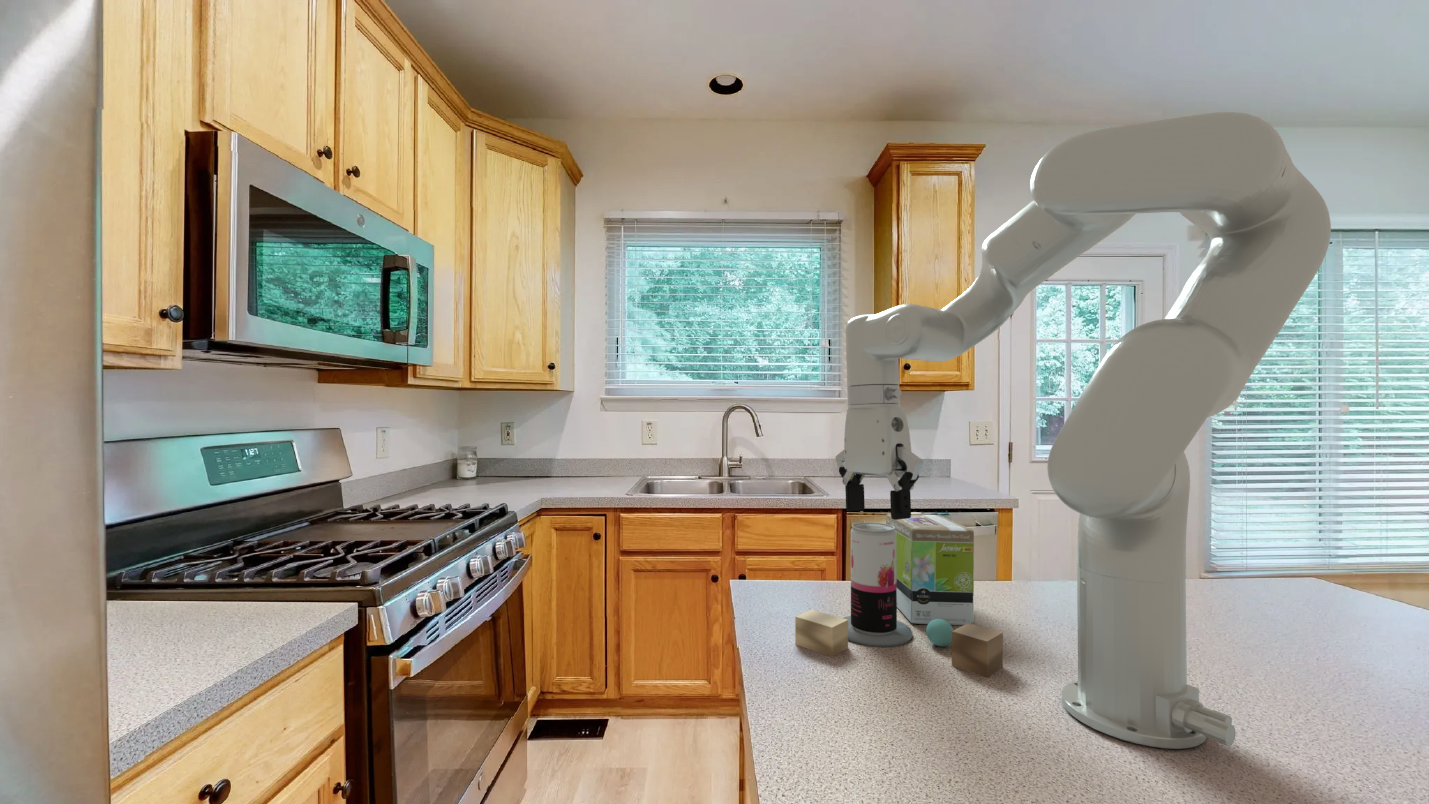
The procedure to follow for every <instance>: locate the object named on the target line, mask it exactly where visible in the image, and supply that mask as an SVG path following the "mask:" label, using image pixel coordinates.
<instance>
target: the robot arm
mask: <svg viewBox="0 0 1429 804" xmlns="http://www.w3.org/2000/svg"><path fill="white" fill-rule="evenodd" d="M1029 184H1030V185H1029V187H1030V195H1031V197H1032V200H1031V201H1030V202H1029V203H1027V205H1025V206H1024V207H1023V208H1022V209H1020V210H1019V211H1018V212H1016V213H1015V214H1014V215H1013V216H1012V217H1010V219H1008V220H1007V221H1006V222H1004V223H1003V224H1001V226H1000V227H998V228H997V229H995V231H993V232H992V233H991V234H990V235H988V236H986V239H984V241H983V242H982V245H981V256H982V257H981V262H982V264H981V268H980V272H979V274H978V276H977V277H976V279H974V282H973V283H972V284H971V285H970V286H969V288H967V289H966V290H965V291H964V292H963V293H962V294H961V295H959V296H958V297H957V298H955V299H954V300H952V301H951V302H950V303H948V304H947V305H946V306H944V307H943V308H942V309H938V308H935V307H934V308H933V307H930V306H929V307H928V306H923V305H919V304H916V303H915V304H913V303H906V304H904V303H903V304H900V305H896V306H894V307H891V308H888V309H886V310H883V311H881V312H879V313H875V314H861V315H858V316H855V317H852V318H850V320H848V321H847V323H846V326H845V356H846V358H845V360H846V361H845V362H846V384H847V385H846V386H847V388H846V389H847V394H846V395H847V410H846V413H845V414H846V415H845V421H844V422H845V425H844V439H843V440H844V441H843V442H844V443H843V450H842V451H840V452H839V453H837V455H836V456H835V461H836V464H837V467H838V472H839V475H840V476H841V477H842V484H843V485H844V486H845V488H844V489H845V510H846V511H847V512H859V511H864V509H865V508H866V507H865V506H866V505H865V504H866V503H865V484H864V483H862V481H863V479H864V477H865V476H874V477H886V479H887V481H888V482H889V483H890V485H891V487H892V489H893V490H890V492H889V493H890V494H889V495H890V500H889V501H890V514H891V518H892V519H895V520H898V519H907V518H910V517H911V515H912V504H911V503H912V501H911V500H912V499H911V491H912V490H914V487H915V484H916V482H917V481H918V480H919V478H920V472H921V469H922V466H923V465H924V463H923V459H922V458H921V457H919V456H918V455H916V454H915V453H913V452H912V443H911V442H912V441H911V434H910V427H909V422H908V419H907V418H908V417H907V413H906V411H905V408H904V406H901V401H900V400H901V397H902V395H903V392H902V390H901V389H900V368H899V366H900V365H899V359H900V360H901V359H902V360H910V361H911V360H912V361H924V362H925V361H926V362H932V363H942V362H948V361H951V360H953V359H955V358H957V357H959V356H961V355H963V354H964V353H966V352H967V351H969V350H970V349H972V348H973V347H975V346H976V345H978V344H979V343H981V342H983V340H986V338H988V337H989V336H990V335H992V334H994V333H995V332H996V331H998V330H999V329H1000V327H1002V326H1003V325H1004V324H1005V323H1006V322H1007V321H1008V320H1009V318H1011V316H1012V315H1013V314H1014V313H1015V311H1016V310H1018V308H1019V307H1020V306H1021V305H1022V303H1023V301H1024V300H1025V298H1026V297H1027V295H1028V294H1030V293H1031V292H1032V291H1033V290H1034V289H1035V288H1037V287H1038V286H1040V285H1041V284H1042V283H1043V282H1045V281H1046V280H1047V279H1049V278H1051V277H1052V276H1054V275H1055V274H1056V273H1058V272H1059V271H1061V270H1062V269H1063V268H1064V267H1066V266H1067V265H1068V264H1070V263H1071V262H1073V261H1074V260H1076V259H1077V258H1079V257H1080V256H1081V255H1083V254H1084V253H1085V252H1087V251H1089V250H1091V249H1092V248H1093V247H1094V246H1096V245H1097V244H1098V243H1100V242H1101V241H1103V240H1104V239H1106V238H1107V237H1108V236H1110V235H1111V234H1112V233H1114V232H1115V231H1117V230H1118V229H1120V228H1121V227H1123V226H1124V225H1125V224H1127V223H1128V222H1129V221H1130V220H1132V218H1133V217H1134V216H1135V215H1136V214H1155V213H1156V214H1157V213H1159V214H1160V213H1180V215H1182V217H1184V218H1185V219H1187V220H1188V221H1189V222H1190V223H1192V224H1193V225H1194V226H1195V227H1197V228H1199V229H1200V230H1202V231H1203V232H1204V233H1205V234H1207V235H1208V237H1209V239H1210V246H1209V248H1208V251H1207V254H1206V255H1205V256H1204V258H1202V261H1200V263H1199V264H1198V265H1197V267H1196V268H1195V269H1194V270H1193V271H1192V273H1191V274H1190V276H1189V278H1188V279H1187V281H1186V282H1185V283H1184V286H1183V287H1182V289H1181V291H1180V293H1179V295H1178V297H1177V298H1176V300H1175V302H1174V303H1173V305H1172V307H1170V310H1169V311H1168V312H1167V314H1166V315H1165V317H1164V318H1161V319H1156V320H1152V321H1149V322H1146V323H1143V324H1140V325H1138V326H1137V327H1135V328H1132V329H1131V330H1129V331H1128V332H1127V333H1125V334H1124V335H1123V336H1121V337H1120V338H1119V339H1118V340H1117V341H1116V342H1115V343H1114V344H1113V345H1112V346H1111V348H1110V349H1109V350H1107V352H1106V353H1105V355H1104V356H1103V358H1102V360H1101V361H1100V362H1099V364H1098V366H1097V368H1096V369H1095V371H1094V372H1093V373H1092V374H1093V375H1092V376H1091V377H1090V380H1089V381H1088V383H1087V385H1086V386H1085V388H1084V390H1083V391H1082V393H1081V395H1079V398H1078V400H1077V402H1076V403H1075V404H1074V407H1073V408H1072V410H1071V412H1070V413H1069V415H1068V416H1067V418H1066V419H1065V421H1064V423H1063V425H1062V427H1061V428H1060V430H1059V431H1058V432H1059V433H1058V434H1057V435H1056V437H1055V440H1054V441H1053V444H1052V446H1051V448H1050V451H1049V454H1048V458H1047V466H1046V467H1047V476H1048V477H1047V478H1048V480H1049V483H1050V486H1051V488H1052V490H1053V492H1054V494H1055V495H1056V496H1057V497H1058V499H1059V500H1060V501H1061V502H1062V503H1063V504H1064V505H1066V507H1068V508H1070V509H1071V510H1073V511H1074V512H1077V513H1079V518H1078V524H1077V536H1076V539H1077V541H1076V574H1077V575H1076V576H1077V577H1076V581H1077V582H1076V583H1077V585H1076V587H1077V588H1076V595H1077V596H1076V598H1077V600H1076V601H1077V606H1076V607H1077V608H1076V610H1077V614H1076V616H1077V617H1076V618H1077V680H1075V681H1072V682H1069V683H1067V684H1066V685H1065V686H1063V688H1062V690H1061V703H1062V705H1063V707H1064V709H1065V710H1066V711H1067V713H1069V714H1070V715H1072V717H1074V718H1075V719H1077V720H1078V721H1080V722H1081V723H1083V724H1084V725H1086V726H1088V727H1089V728H1091V729H1094V730H1095V731H1098V732H1100V733H1102V734H1105V735H1107V736H1111V737H1113V738H1116V739H1119V740H1121V741H1126V742H1129V743H1133V744H1137V745H1141V746H1146V747H1152V748H1157V749H1158V748H1159V749H1170V750H1171V749H1172V750H1173V749H1174V750H1179V749H1190V748H1194V747H1198V746H1200V745H1201V744H1203V743H1205V741H1206V740H1207V738H1208V739H1210V740H1212V741H1215V742H1217V743H1219V744H1222V745H1224V746H1227V747H1232V745H1233V744H1234V742H1235V739H1236V736H1237V735H1236V733H1237V732H1236V728H1235V726H1234V725H1233V721H1232V717H1231V716H1230V715H1228V714H1225V713H1223V712H1221V711H1218V710H1214V709H1210V708H1207V707H1205V706H1204V705H1203V703H1202V702H1200V695H1199V694H1200V689H1199V688H1198V687H1196V686H1193V685H1190V684H1188V683H1187V682H1188V680H1187V679H1188V678H1187V677H1188V676H1187V673H1188V671H1187V661H1188V660H1187V600H1186V599H1187V589H1186V587H1187V582H1186V580H1187V525H1188V514H1189V513H1188V511H1189V503H1190V490H1191V489H1190V488H1191V474H1190V473H1191V472H1190V467H1189V462H1188V459H1187V455H1186V453H1185V450H1187V448H1188V446H1189V445H1190V444H1191V442H1192V441H1193V439H1194V437H1196V435H1197V433H1198V432H1199V430H1200V428H1201V427H1202V426H1203V425H1204V423H1205V421H1207V419H1208V418H1209V417H1213V416H1215V415H1217V414H1220V413H1221V412H1223V411H1224V410H1227V408H1229V407H1231V405H1232V404H1233V403H1234V402H1235V401H1236V400H1238V398H1239V396H1240V394H1241V393H1242V392H1243V390H1244V388H1245V386H1246V384H1247V383H1248V381H1249V379H1250V378H1251V376H1252V374H1253V372H1254V371H1255V369H1256V367H1257V366H1258V365H1259V363H1260V362H1261V360H1262V359H1263V357H1264V355H1265V354H1266V352H1267V351H1268V350H1269V348H1270V347H1271V345H1272V344H1273V342H1274V341H1275V339H1276V337H1277V336H1278V334H1279V333H1280V332H1281V330H1282V329H1283V327H1284V326H1285V324H1286V322H1287V321H1288V318H1289V317H1290V316H1291V314H1292V312H1293V311H1294V308H1295V307H1296V306H1297V304H1298V302H1299V301H1300V299H1302V296H1303V295H1304V293H1305V292H1306V290H1307V289H1308V288H1309V285H1310V284H1311V282H1312V281H1313V279H1314V278H1315V276H1316V275H1317V273H1318V271H1319V270H1320V268H1321V266H1322V263H1323V262H1324V259H1325V257H1326V254H1327V252H1328V249H1329V244H1330V241H1331V233H1332V230H1331V229H1332V224H1331V217H1330V213H1329V210H1328V209H1329V208H1328V206H1327V203H1326V201H1325V200H1324V198H1323V196H1322V194H1321V193H1320V192H1319V191H1318V190H1317V188H1316V187H1315V185H1313V184H1312V182H1310V180H1309V179H1308V178H1307V177H1306V176H1305V175H1304V174H1303V173H1302V172H1301V171H1300V170H1299V169H1298V167H1296V166H1295V164H1294V162H1293V160H1292V158H1291V156H1290V154H1289V152H1287V149H1286V146H1285V144H1284V141H1283V139H1282V136H1280V134H1279V132H1278V131H1277V130H1276V129H1275V128H1274V126H1273V125H1271V123H1269V122H1268V121H1266V120H1265V119H1263V118H1261V117H1259V116H1256V115H1254V114H1253V115H1252V114H1249V113H1244V112H1238V111H1237V112H1235V111H1218V112H1210V113H1199V114H1193V115H1185V116H1181V117H1179V116H1178V117H1173V118H1166V119H1159V120H1154V121H1147V122H1140V123H1139V122H1138V123H1130V124H1127V125H1125V124H1124V125H1118V126H1113V127H1107V128H1106V127H1105V128H1099V129H1095V130H1094V129H1093V130H1090V131H1086V132H1083V133H1079V134H1075V135H1073V136H1071V137H1068V138H1066V139H1064V140H1062V141H1060V142H1058V143H1057V144H1055V145H1054V146H1052V147H1051V148H1050V149H1049V150H1047V152H1046V153H1045V154H1044V155H1043V156H1042V157H1041V158H1040V160H1039V161H1038V162H1037V164H1036V165H1035V167H1034V169H1033V172H1032V174H1031V176H1030V182H1029Z"/></svg>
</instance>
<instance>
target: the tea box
mask: <svg viewBox="0 0 1429 804" xmlns="http://www.w3.org/2000/svg"><path fill="white" fill-rule="evenodd" d="M885 521H886V522H885V524H889V525H892V526H894V527H895V531H896V564H897V609H898V610H899V611H900V612H901V613H902V614H903V615H904V616H905V617H906V619H907V620H908V621H909V622H910V623H911V624H916V625H917V624H919V625H928V624H929V622H930V621H932V620H934V619H943V620H945V621H947V622H948V623H949V624H950V625H951V626H952V625H955V626H957V625H959V626H963V625H965V624H967V623H970V624H973V623H974V594H975V593H974V592H975V591H974V590H975V589H974V587H975V586H974V585H975V584H974V583H975V582H974V581H975V580H974V572H975V571H974V570H975V565H974V564H975V563H974V562H975V559H974V558H975V557H974V555H975V531H974V530H973V529H971V528H969V527H967V526H965V525H963V524H960V523H958V522H956V521H954V520H951V519H949V518H947V517H944V516H942V515H939V514H911V517H910V518H907V519H898V520H895V519H892V518H891V513H890V514H889V513H887V514H885Z"/></svg>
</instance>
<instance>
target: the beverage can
mask: <svg viewBox="0 0 1429 804" xmlns="http://www.w3.org/2000/svg"><path fill="white" fill-rule="evenodd" d="M897 611H898V607H897V564H896V531H895V527H894V526H892V525H889V524H886V523H883V522H882V523H881V522H870V521H869V522H857V523H855V522H854V523H853V524H851V529H850V616H851V625H852V626H853V627H854V628H855V629H856V630H857V631H859V632H862V633H865V634H870V635H887V634H891V633H892V632H893V631H894V630H896V628H897V621H898V619H897V617H898V616H897V615H898V614H897V613H898V612H897Z"/></svg>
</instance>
